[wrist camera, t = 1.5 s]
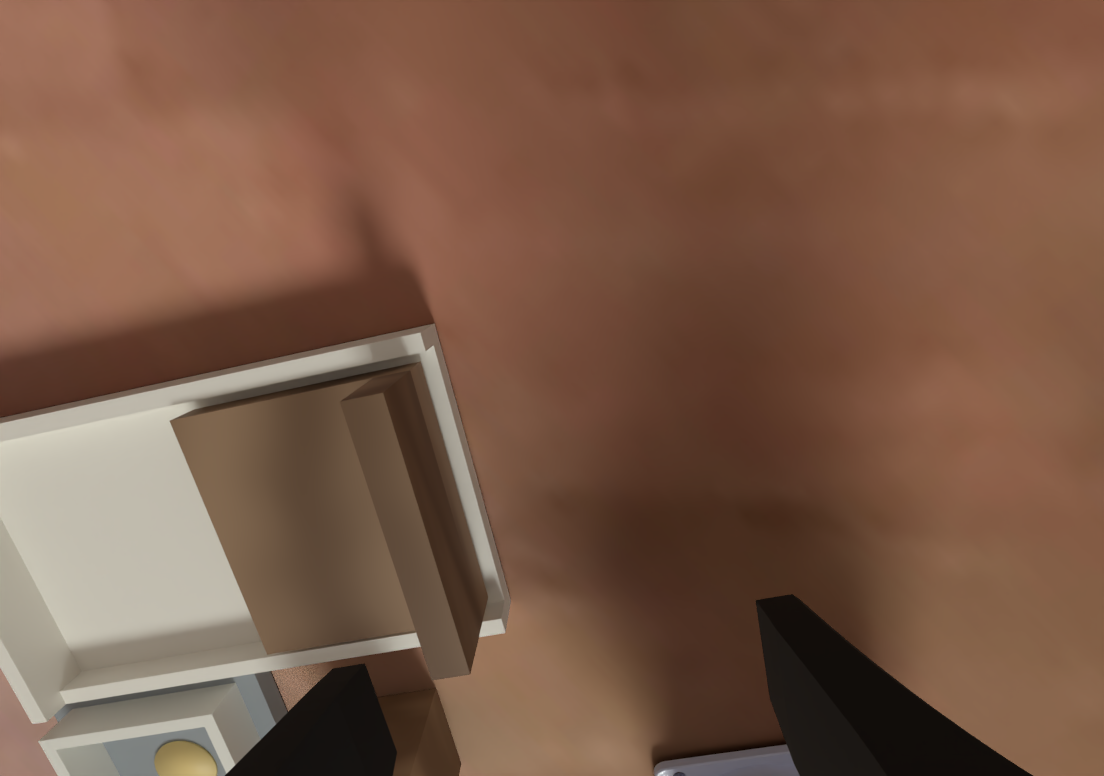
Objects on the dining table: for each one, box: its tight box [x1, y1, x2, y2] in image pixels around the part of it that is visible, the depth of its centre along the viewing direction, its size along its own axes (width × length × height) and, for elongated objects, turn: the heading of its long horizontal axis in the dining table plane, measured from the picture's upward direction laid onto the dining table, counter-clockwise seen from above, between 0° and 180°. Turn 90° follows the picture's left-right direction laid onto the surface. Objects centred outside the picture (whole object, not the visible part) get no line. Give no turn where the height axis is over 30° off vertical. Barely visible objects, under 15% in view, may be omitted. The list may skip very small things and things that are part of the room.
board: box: [0, 323, 511, 724], centre depth 20 cm, size 18×11×3 cm, turn 102°
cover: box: [170, 361, 488, 680], centre depth 18 cm, size 8×9×4 cm
